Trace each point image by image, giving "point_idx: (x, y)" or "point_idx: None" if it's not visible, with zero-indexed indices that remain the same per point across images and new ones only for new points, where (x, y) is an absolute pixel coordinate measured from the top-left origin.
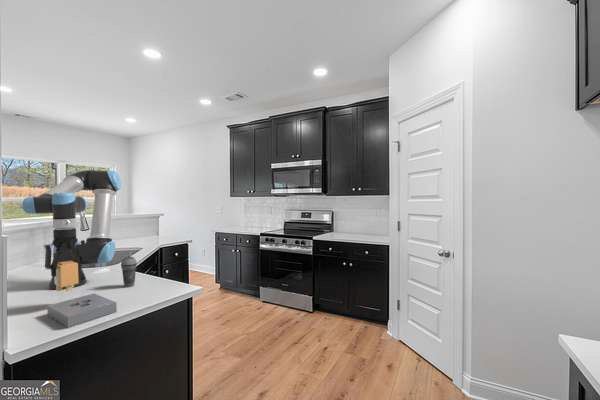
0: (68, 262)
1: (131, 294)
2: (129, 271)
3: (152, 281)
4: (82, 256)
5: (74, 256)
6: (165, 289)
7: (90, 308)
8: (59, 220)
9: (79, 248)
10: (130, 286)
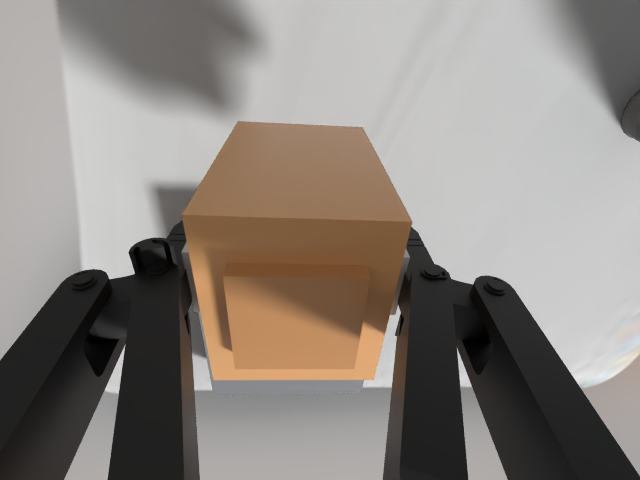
0: (305, 362)
1: (512, 256)
2: None
3: None
4: (483, 393)
5: (391, 414)
6: (593, 311)
7: (285, 383)
8: None
9: None
10: (632, 137)
